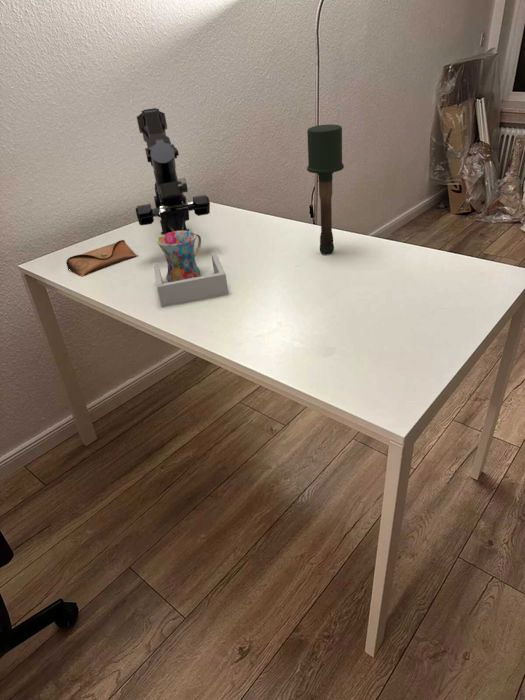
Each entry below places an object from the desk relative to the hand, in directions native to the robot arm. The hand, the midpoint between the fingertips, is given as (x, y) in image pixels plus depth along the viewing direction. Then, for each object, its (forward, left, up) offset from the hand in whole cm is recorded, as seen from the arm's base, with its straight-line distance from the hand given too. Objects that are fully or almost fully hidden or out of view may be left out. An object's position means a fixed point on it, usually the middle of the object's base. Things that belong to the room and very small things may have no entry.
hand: (180, 240), depth 125 cm
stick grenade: (-27, +26, -7) cm, 38 cm away
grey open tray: (+7, +13, -7) cm, 16 cm away
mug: (+4, +7, -7) cm, 11 cm away
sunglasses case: (+13, -20, -7) cm, 25 cm away
